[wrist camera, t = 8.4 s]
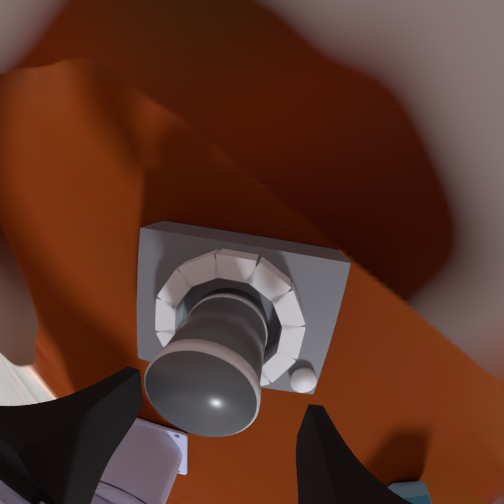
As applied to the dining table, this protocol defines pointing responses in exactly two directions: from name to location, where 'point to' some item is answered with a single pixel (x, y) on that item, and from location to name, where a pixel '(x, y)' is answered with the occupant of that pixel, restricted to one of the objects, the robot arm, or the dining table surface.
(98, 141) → the dining table surface
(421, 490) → the data package
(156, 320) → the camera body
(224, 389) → the lens
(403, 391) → the dining table surface
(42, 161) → the dining table surface
